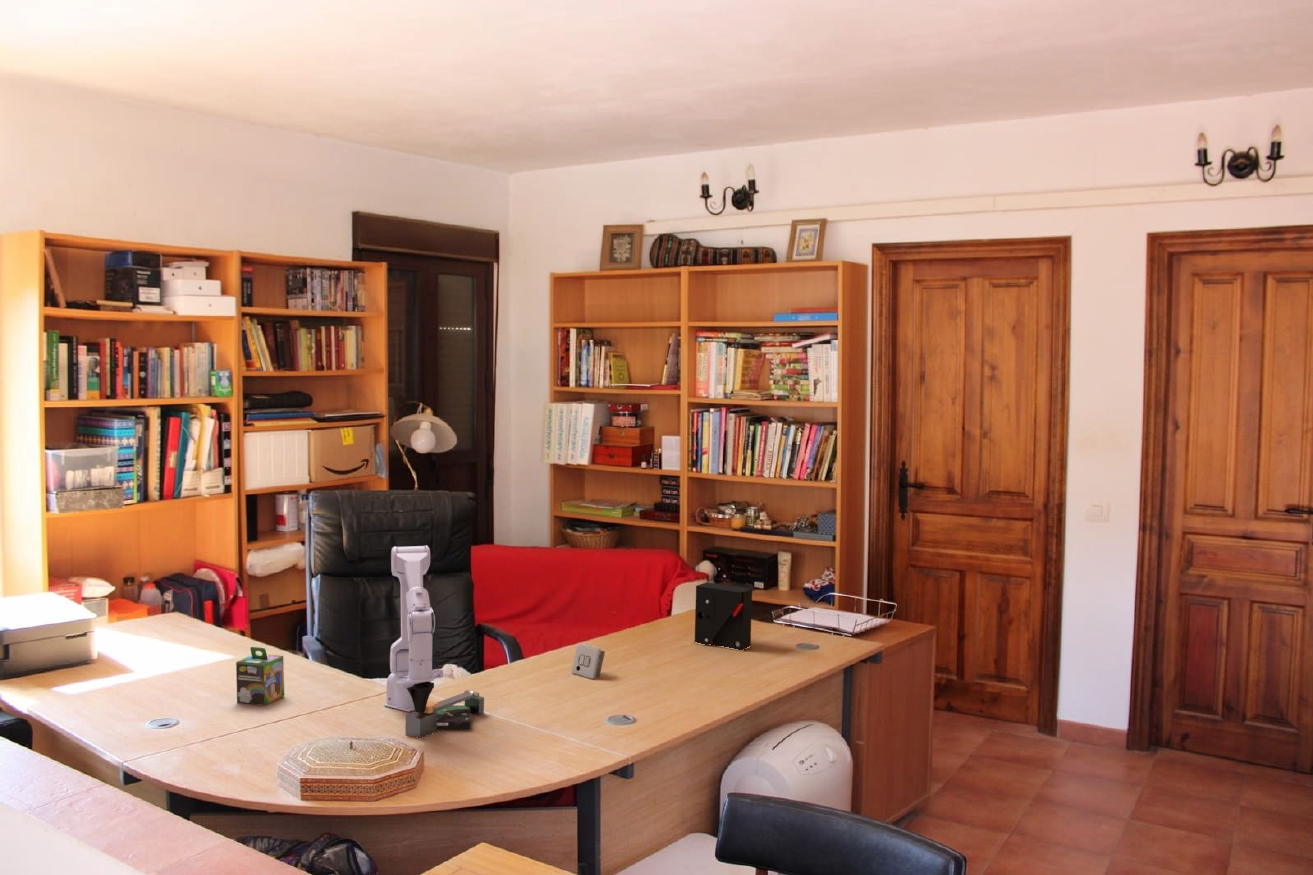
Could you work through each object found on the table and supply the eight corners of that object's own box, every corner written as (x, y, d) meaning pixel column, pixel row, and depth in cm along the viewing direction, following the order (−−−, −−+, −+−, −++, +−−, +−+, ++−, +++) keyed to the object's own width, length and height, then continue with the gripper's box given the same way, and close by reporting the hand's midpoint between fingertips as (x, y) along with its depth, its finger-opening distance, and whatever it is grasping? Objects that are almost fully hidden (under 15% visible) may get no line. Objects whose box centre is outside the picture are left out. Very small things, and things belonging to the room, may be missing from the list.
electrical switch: (570, 673, 325) (573, 643, 325) (582, 672, 329) (585, 642, 329) (592, 680, 319) (595, 649, 319) (604, 678, 323) (607, 647, 323)
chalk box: (285, 696, 297) (285, 644, 296) (264, 706, 288) (264, 652, 287) (256, 693, 300) (256, 641, 299) (235, 702, 291) (235, 649, 290)
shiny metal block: (405, 734, 268) (405, 715, 268) (469, 710, 289) (469, 691, 288) (420, 738, 266) (420, 719, 265) (483, 713, 286) (484, 695, 286)
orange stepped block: (416, 710, 271) (417, 704, 271) (427, 706, 274) (427, 700, 274) (428, 713, 269) (428, 707, 268) (439, 709, 272) (439, 703, 272)
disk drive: (471, 731, 273) (470, 714, 287) (472, 720, 273) (470, 704, 287) (430, 731, 271) (430, 715, 285) (430, 720, 270) (431, 704, 285)
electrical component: (753, 646, 363) (755, 587, 362) (739, 652, 354) (741, 592, 353) (708, 638, 372) (709, 581, 371) (693, 644, 364) (695, 586, 363)
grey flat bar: (421, 711, 272) (421, 706, 272) (467, 694, 287) (468, 689, 287) (432, 714, 270) (432, 709, 270) (479, 697, 285) (479, 691, 285)
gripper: (411, 667, 260) (410, 722, 260) (452, 654, 272) (451, 707, 273) (390, 662, 263) (390, 717, 264) (431, 650, 276) (431, 702, 277)
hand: (420, 711), depth 269 cm, fingers closed
